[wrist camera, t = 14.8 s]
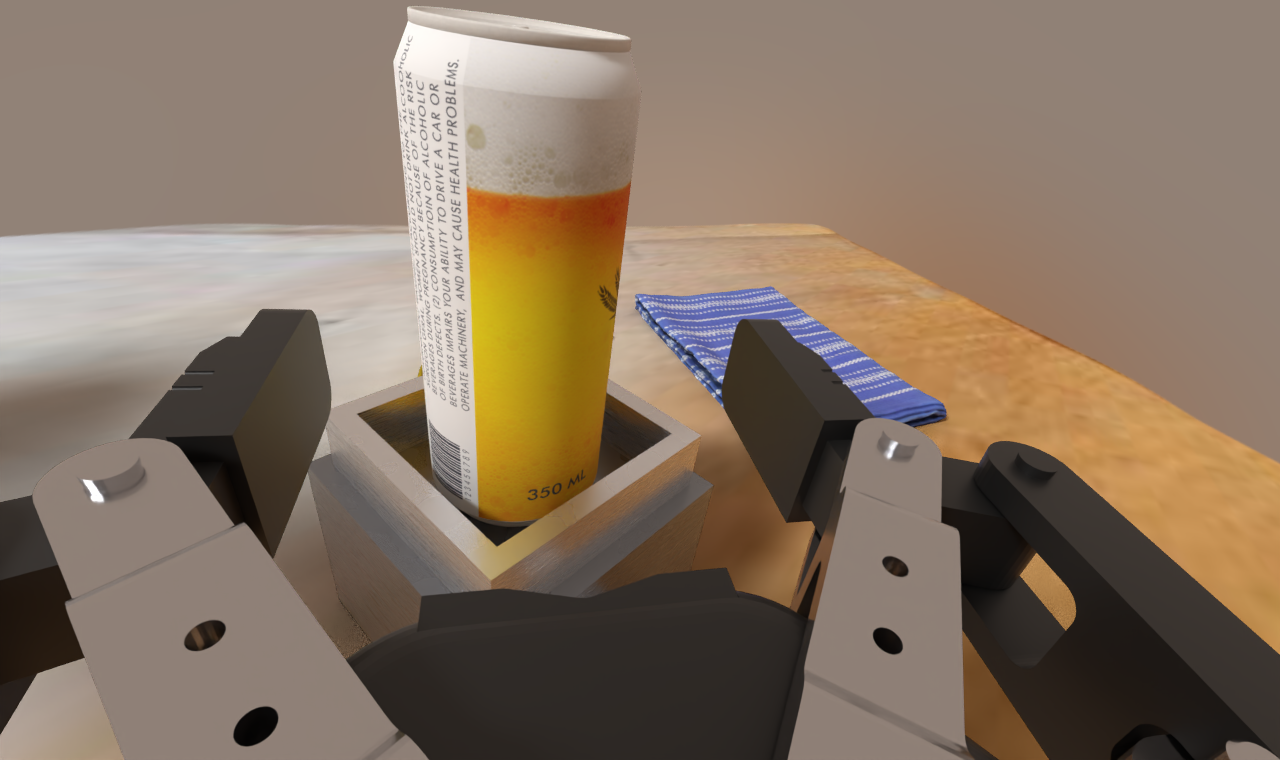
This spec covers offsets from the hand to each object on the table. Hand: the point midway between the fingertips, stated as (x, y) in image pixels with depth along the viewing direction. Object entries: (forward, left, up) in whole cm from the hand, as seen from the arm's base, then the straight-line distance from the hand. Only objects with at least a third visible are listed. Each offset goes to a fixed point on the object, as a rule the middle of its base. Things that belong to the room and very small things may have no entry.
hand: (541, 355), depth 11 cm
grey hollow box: (-4, +4, -18) cm, 18 cm away
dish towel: (-10, +35, -18) cm, 41 cm away
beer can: (-6, +4, -10) cm, 12 cm away
